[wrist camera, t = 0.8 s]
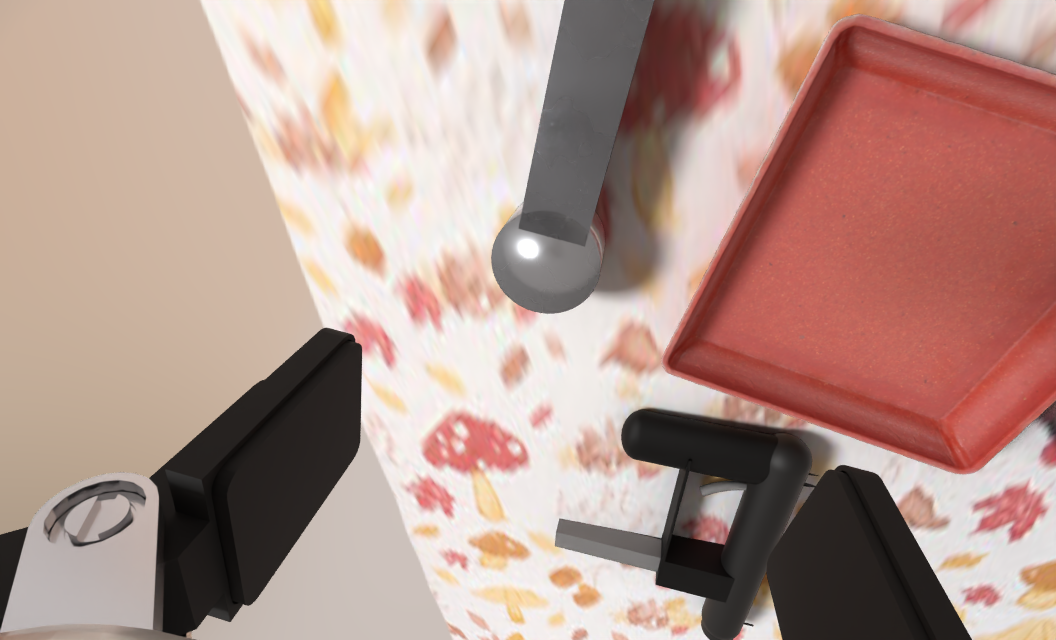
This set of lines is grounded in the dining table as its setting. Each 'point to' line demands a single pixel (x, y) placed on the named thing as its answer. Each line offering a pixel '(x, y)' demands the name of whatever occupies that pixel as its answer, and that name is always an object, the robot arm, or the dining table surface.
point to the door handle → (739, 455)
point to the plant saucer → (893, 253)
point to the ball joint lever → (571, 158)
